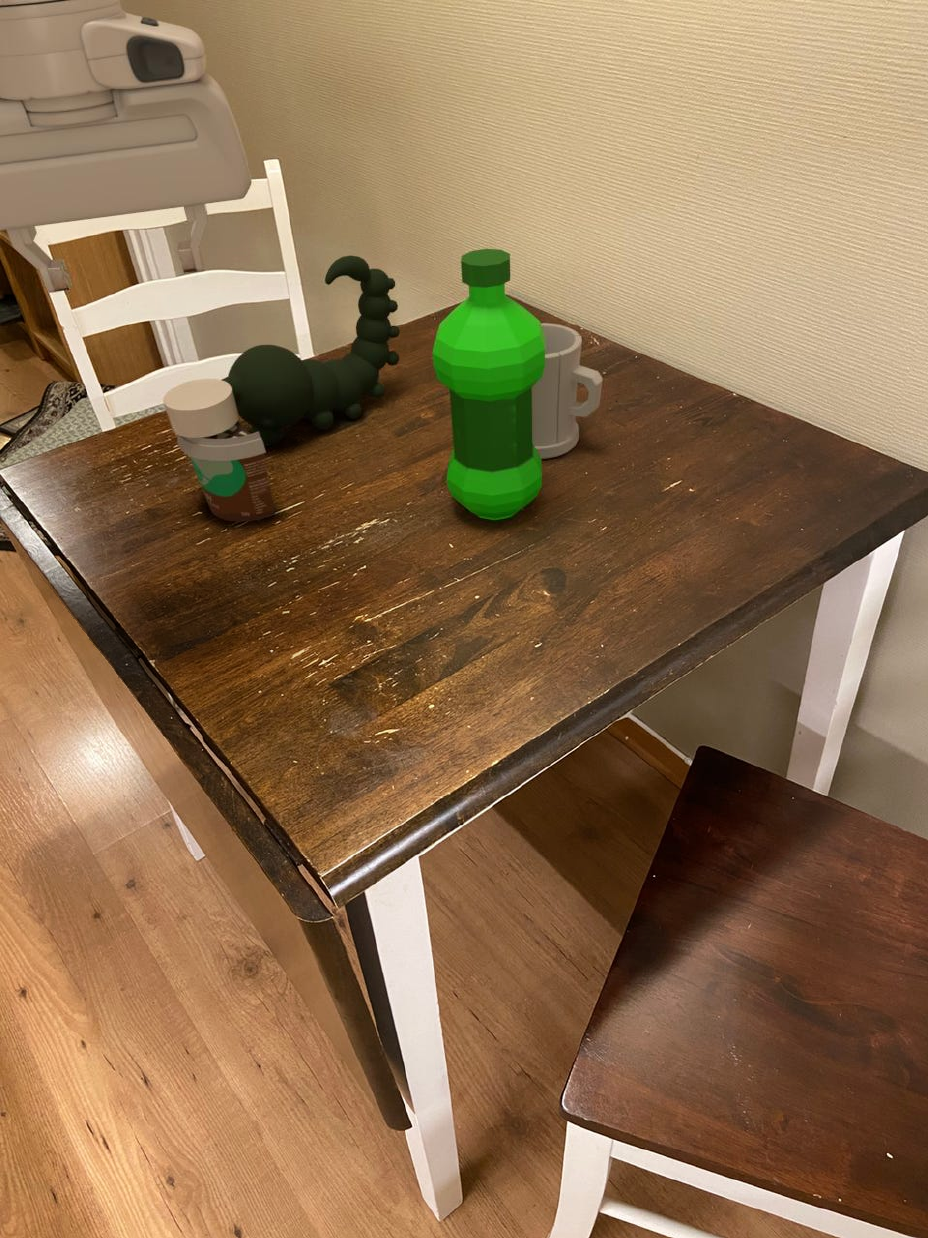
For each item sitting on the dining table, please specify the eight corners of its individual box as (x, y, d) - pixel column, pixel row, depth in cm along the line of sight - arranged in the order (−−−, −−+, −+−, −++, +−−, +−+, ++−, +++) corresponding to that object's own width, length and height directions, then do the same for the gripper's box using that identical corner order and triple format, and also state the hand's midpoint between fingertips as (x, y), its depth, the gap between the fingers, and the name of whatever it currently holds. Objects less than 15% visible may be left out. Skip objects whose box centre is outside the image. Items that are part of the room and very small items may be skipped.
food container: (179, 493, 96) (152, 410, 90) (230, 473, 99) (208, 391, 92) (227, 543, 89) (202, 456, 82) (282, 520, 91) (261, 433, 85)
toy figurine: (372, 391, 116) (198, 445, 103) (363, 239, 105) (166, 278, 92) (416, 414, 110) (237, 474, 97) (411, 256, 99) (208, 301, 86)
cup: (583, 416, 104) (586, 316, 96) (602, 455, 97) (607, 351, 89) (495, 426, 103) (491, 327, 96) (508, 466, 96) (504, 362, 89)
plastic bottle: (435, 490, 94) (412, 247, 77) (530, 472, 95) (527, 231, 79) (458, 542, 86) (438, 286, 70) (560, 522, 88) (564, 267, 72)
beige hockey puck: (171, 443, 84) (162, 414, 82) (172, 412, 89) (163, 384, 87) (240, 431, 85) (233, 403, 83) (237, 401, 90) (230, 374, 88)
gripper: (-134, 81, 51) (-32, 317, 60) (224, 43, 54) (270, 273, 63) (-107, 64, 55) (-15, 285, 64) (221, 30, 58) (265, 246, 67)
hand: (128, 279), depth 64 cm, fingers open, 8 cm apart
